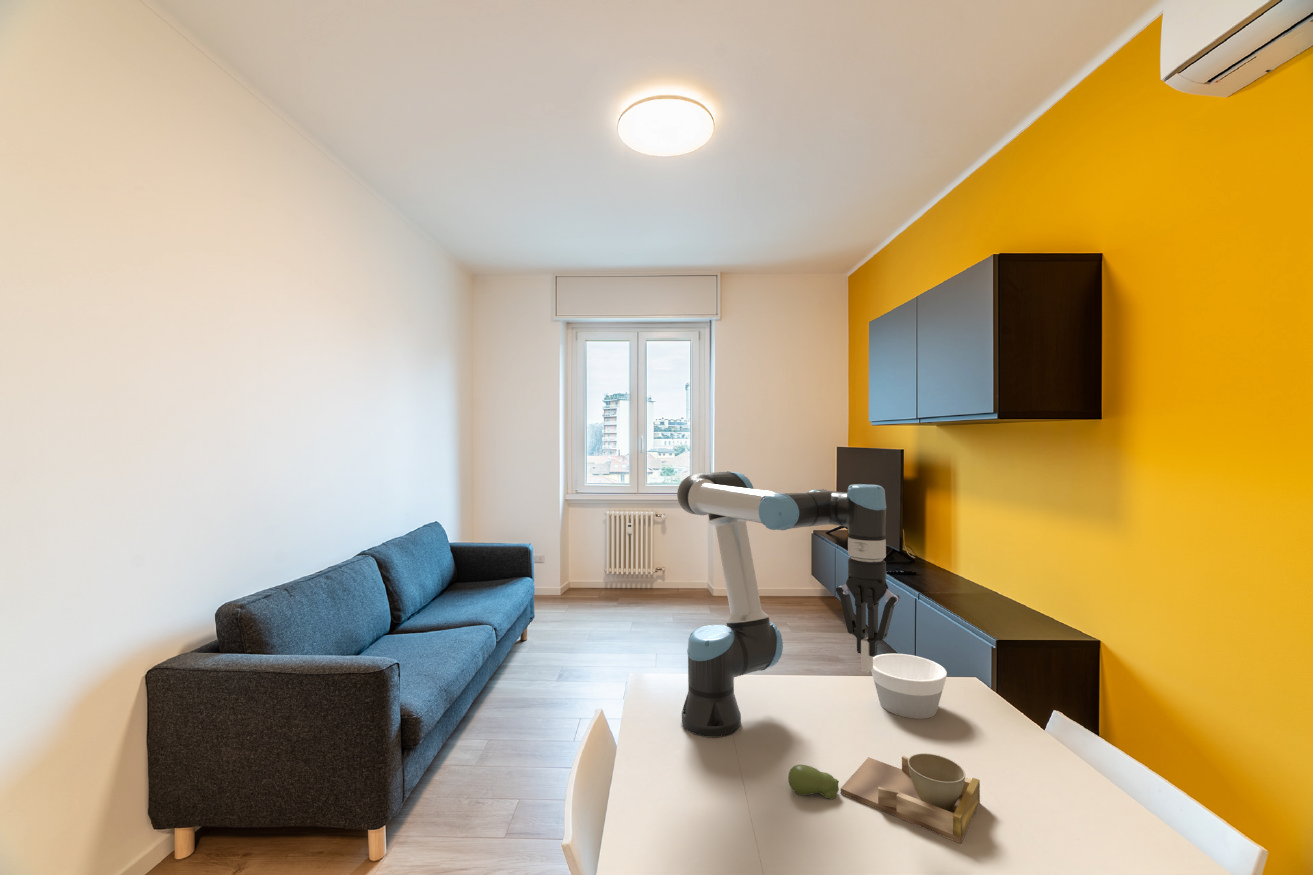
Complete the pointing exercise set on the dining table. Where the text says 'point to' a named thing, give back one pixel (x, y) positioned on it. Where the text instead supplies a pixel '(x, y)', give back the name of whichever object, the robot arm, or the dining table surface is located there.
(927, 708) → the bowl
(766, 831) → the dining table surface
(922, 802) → the slot board
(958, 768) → the flower pot
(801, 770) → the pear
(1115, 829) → the dining table surface
